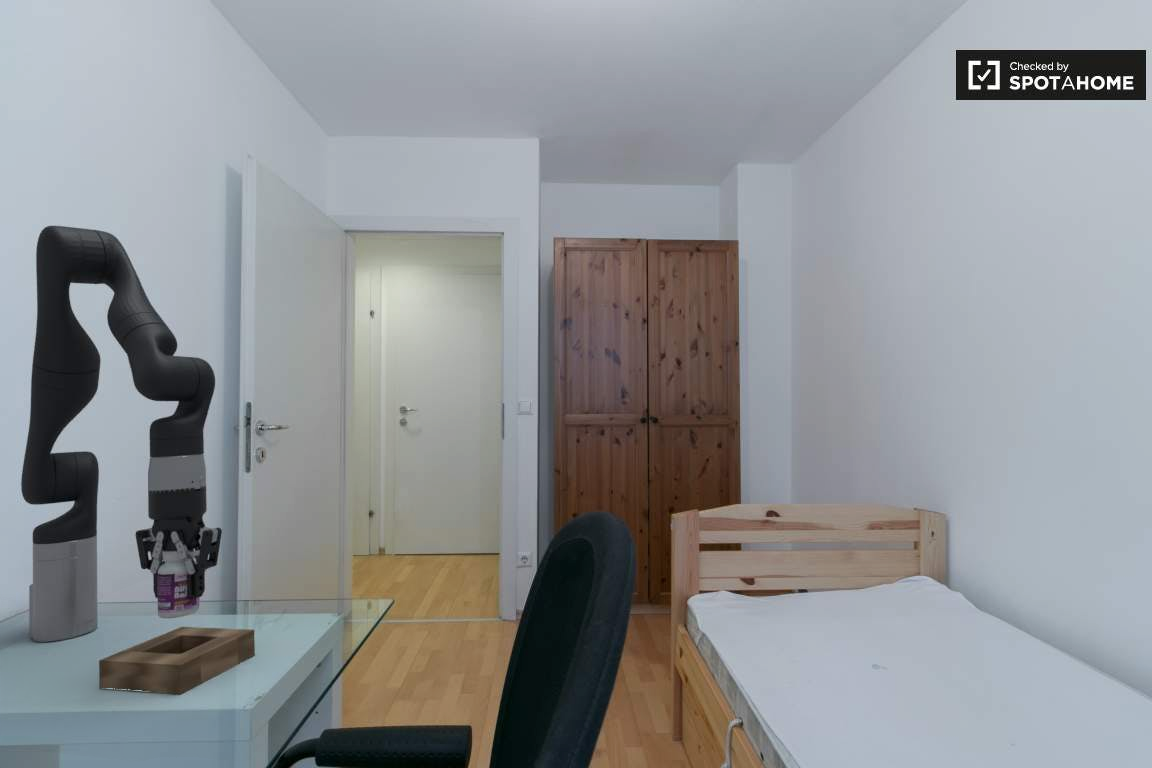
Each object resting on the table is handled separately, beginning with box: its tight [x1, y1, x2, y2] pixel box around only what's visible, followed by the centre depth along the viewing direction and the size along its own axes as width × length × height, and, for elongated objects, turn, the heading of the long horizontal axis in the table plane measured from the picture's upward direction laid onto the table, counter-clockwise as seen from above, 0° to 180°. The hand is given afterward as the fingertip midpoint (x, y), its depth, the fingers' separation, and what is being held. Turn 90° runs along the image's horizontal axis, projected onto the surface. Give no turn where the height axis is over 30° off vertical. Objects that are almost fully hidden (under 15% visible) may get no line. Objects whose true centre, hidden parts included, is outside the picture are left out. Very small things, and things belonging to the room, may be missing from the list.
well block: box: [98, 626, 256, 695], centre depth 94 cm, size 14×14×4 cm
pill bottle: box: [157, 549, 201, 619], centre depth 94 cm, size 5×5×10 cm
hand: (179, 596), depth 94 cm, fingers closed on pill bottle, 5 cm apart
